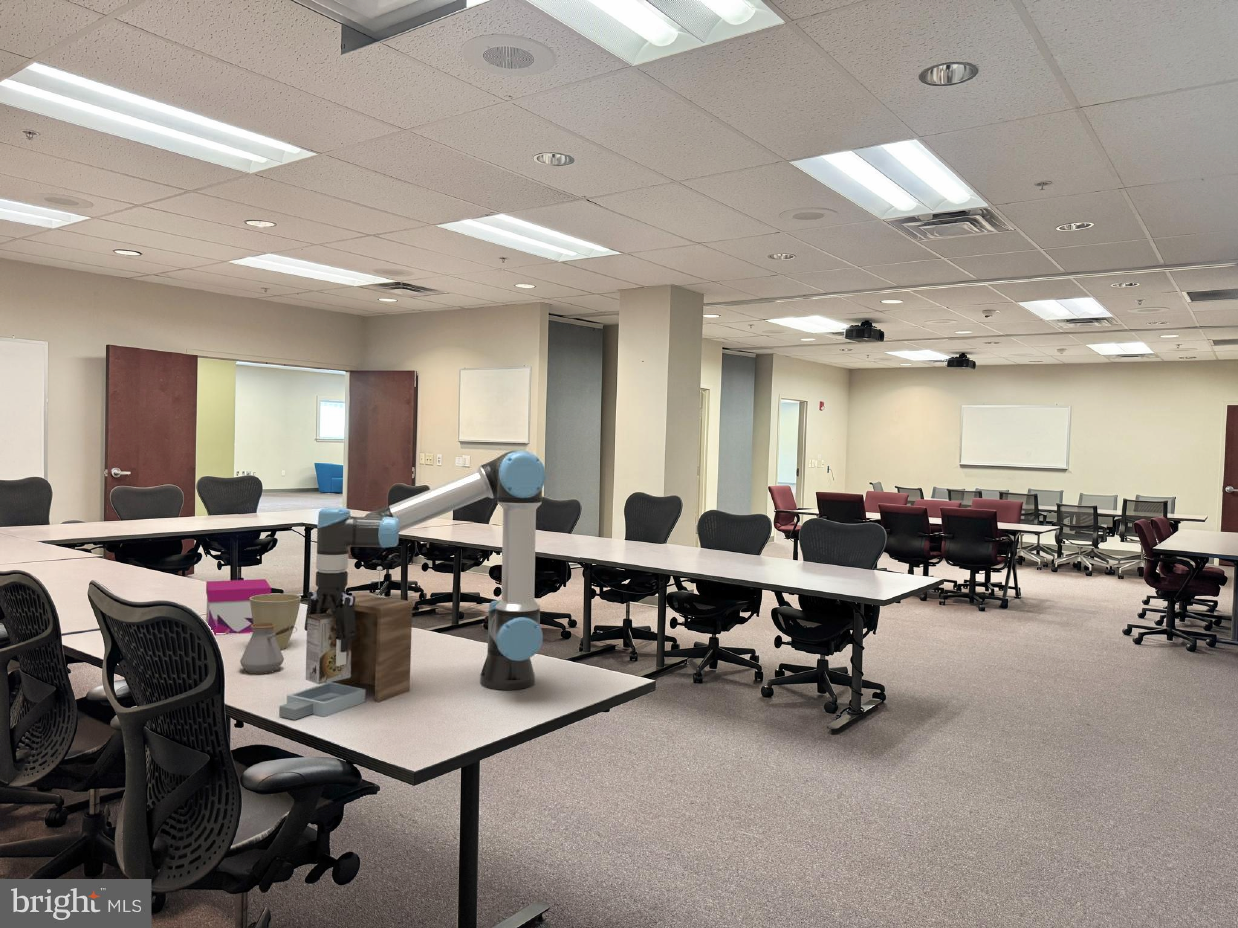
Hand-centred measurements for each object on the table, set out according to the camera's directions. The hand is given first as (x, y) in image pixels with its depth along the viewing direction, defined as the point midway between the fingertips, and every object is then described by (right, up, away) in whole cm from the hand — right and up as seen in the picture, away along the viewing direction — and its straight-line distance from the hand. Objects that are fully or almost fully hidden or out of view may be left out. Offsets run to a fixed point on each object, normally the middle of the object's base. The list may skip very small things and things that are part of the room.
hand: (328, 662), depth 211 cm
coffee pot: (-25, -10, +27) cm, 38 cm away
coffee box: (0, -4, 0) cm, 4 cm away
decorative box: (-59, -7, +81) cm, 100 cm away
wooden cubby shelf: (+6, -11, +13) cm, 18 cm away
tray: (-2, -11, -3) cm, 11 cm away
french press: (-8, -9, +67) cm, 68 cm away
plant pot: (-36, -9, +55) cm, 66 cm away
